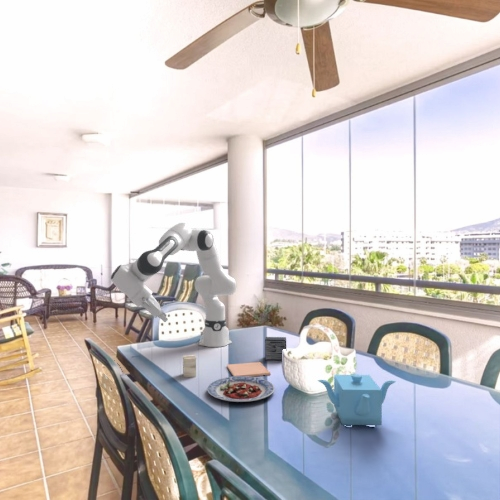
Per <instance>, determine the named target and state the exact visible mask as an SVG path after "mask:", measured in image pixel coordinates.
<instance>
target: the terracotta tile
mask: <svg viewBox="0 0 500 500" xmlns="http://www.w3.org/2000/svg"><path fill="white" fill-rule="evenodd" d="M226 368H227V369H228V371H229V372H230V374H231V375H232V377H234V376H249V377H263V375H265V376H271V372H270V371H269V370H268V368H267V367H266V366H264V364H263V363H262V362H260V361H256V362H255V361H254V362H245V363H244V362H243V363H232V364H231V363H230V364H226Z"/></svg>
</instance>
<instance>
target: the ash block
mask: <svg viewBox="0 0 500 500" xmlns="http://www.w3.org/2000/svg"><path fill="white" fill-rule="evenodd" d="M182 362H183V363H182V367H183V368H182V374H183V378H195V377H197V357H196V355H195V354H189V355H182Z"/></svg>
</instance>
